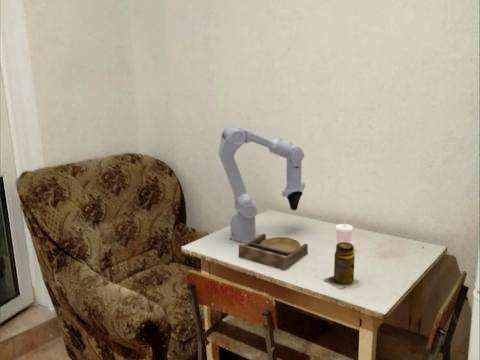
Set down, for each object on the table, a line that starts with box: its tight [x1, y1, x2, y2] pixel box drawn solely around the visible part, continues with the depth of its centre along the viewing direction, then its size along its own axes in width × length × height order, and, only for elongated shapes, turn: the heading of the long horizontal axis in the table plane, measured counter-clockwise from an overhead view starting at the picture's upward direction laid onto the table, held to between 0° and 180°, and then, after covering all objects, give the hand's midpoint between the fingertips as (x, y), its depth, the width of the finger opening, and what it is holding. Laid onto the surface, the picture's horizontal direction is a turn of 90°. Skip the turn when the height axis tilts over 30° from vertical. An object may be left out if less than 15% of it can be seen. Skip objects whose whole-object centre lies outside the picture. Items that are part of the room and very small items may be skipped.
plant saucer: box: [260, 236, 302, 254], centre depth 165 cm, size 15×15×3 cm
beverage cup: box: [335, 213, 354, 245], centre depth 163 cm, size 6×6×14 cm
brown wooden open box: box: [238, 233, 309, 271], centre depth 161 cm, size 19×16×4 cm
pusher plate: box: [249, 242, 289, 256], centre depth 159 cm, size 16×1×4 cm, turn 54°
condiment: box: [323, 242, 360, 290], centre depth 141 cm, size 7×8×12 cm
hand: (293, 209), depth 180 cm, fingers closed
